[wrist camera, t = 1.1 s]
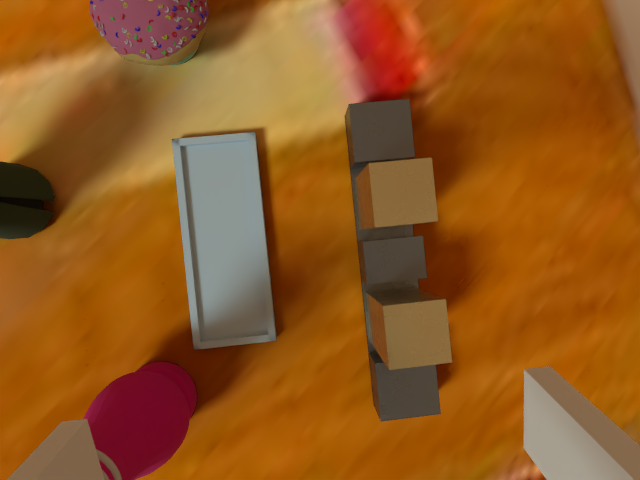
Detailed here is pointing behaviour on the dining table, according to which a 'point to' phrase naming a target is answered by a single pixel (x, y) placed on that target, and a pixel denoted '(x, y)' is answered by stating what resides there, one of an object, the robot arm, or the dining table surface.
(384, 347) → the cream upright block
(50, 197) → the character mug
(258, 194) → the tray
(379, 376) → the gray notched bar
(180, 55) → the cupcake
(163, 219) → the dining table surface
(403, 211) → the beige rectangular block
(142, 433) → the pepper mill
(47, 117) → the dining table surface
